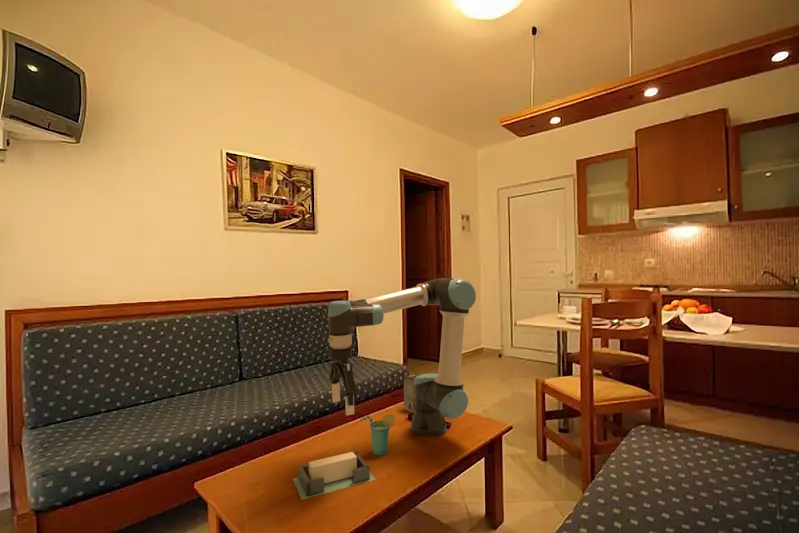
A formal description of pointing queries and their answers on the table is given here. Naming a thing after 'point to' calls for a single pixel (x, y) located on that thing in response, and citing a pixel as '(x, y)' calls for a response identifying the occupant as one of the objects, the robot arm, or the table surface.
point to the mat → (329, 486)
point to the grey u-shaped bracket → (360, 471)
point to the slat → (333, 467)
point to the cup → (380, 433)
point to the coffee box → (409, 392)
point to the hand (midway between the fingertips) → (342, 407)
